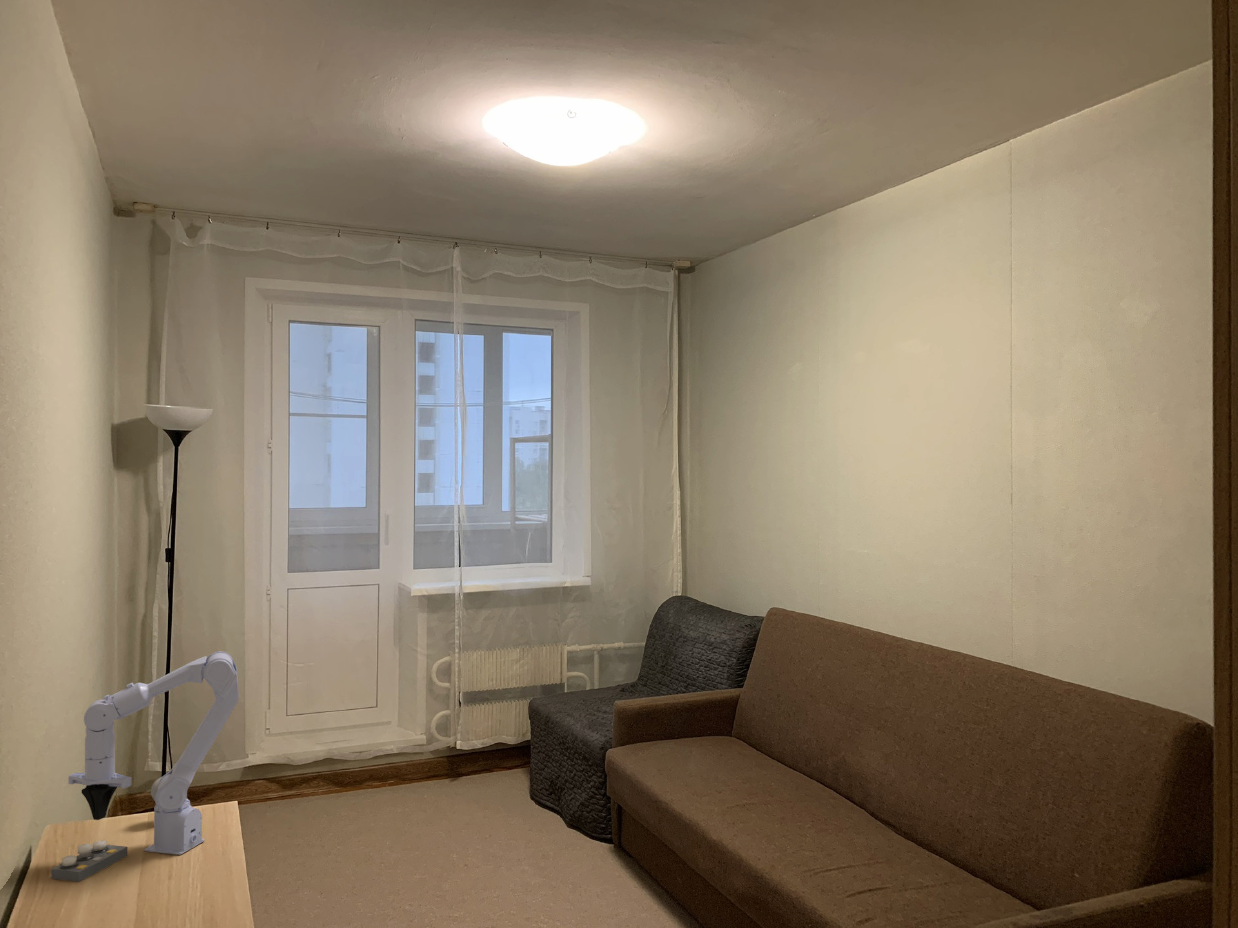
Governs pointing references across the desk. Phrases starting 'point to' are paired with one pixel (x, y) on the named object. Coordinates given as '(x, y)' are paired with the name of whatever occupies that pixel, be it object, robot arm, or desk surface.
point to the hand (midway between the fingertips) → (99, 818)
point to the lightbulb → (155, 788)
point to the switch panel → (89, 863)
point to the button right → (99, 845)
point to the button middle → (84, 848)
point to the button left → (69, 860)
